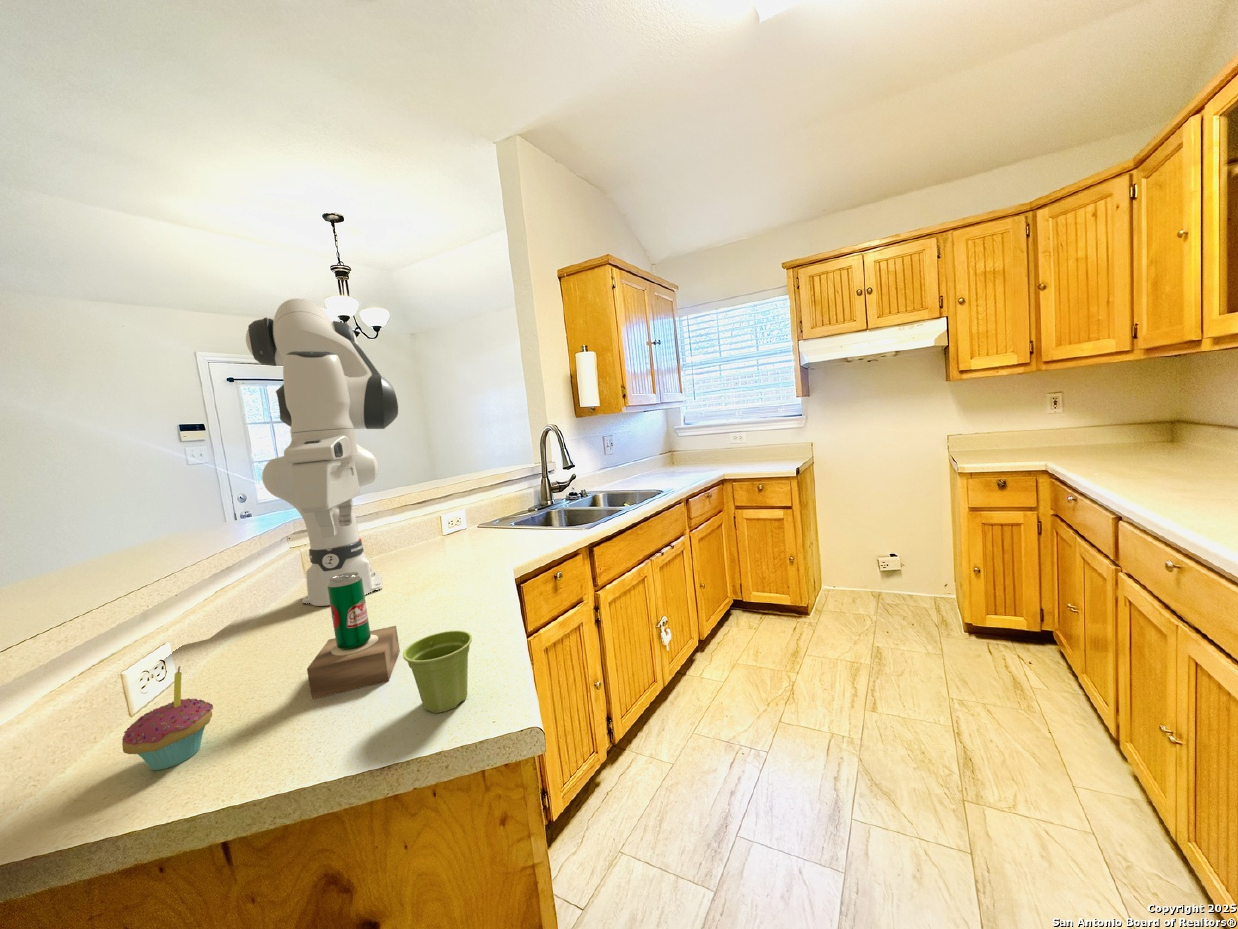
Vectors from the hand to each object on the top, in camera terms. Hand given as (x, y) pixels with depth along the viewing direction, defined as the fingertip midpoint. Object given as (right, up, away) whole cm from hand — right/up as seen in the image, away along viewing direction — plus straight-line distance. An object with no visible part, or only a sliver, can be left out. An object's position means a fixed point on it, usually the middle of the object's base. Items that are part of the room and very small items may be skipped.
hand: (338, 530), depth 76 cm
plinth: (+3, -25, +2) cm, 25 cm away
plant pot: (+22, -24, -9) cm, 33 cm away
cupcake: (-12, -28, -16) cm, 34 cm away
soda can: (+2, -20, +1) cm, 20 cm away
